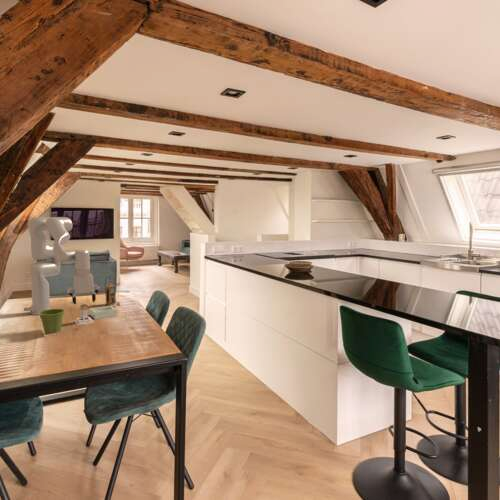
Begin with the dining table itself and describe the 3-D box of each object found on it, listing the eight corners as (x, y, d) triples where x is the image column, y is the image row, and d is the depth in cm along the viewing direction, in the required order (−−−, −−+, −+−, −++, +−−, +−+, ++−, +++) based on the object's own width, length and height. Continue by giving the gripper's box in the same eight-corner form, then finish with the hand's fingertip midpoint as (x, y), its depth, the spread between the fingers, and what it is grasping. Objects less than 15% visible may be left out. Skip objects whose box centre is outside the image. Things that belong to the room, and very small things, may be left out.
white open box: (95, 321, 208) (94, 312, 208) (90, 316, 218) (90, 308, 217) (116, 317, 215) (116, 309, 215) (111, 313, 225) (110, 305, 224)
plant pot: (41, 330, 189) (40, 309, 188) (66, 328, 194) (66, 308, 193) (37, 337, 178) (36, 315, 177) (64, 335, 182) (63, 313, 182)
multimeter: (116, 307, 240) (115, 277, 238) (103, 306, 242) (102, 277, 240) (128, 302, 254) (127, 274, 252) (115, 302, 256) (114, 274, 254)
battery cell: (81, 322, 201) (80, 305, 200) (80, 321, 204) (79, 303, 203) (88, 321, 203) (88, 304, 202) (87, 320, 206) (86, 303, 205)
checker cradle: (77, 326, 197) (77, 322, 197) (74, 322, 204) (74, 318, 204) (94, 323, 202) (94, 319, 202) (91, 320, 210) (91, 316, 210)
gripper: (66, 274, 193) (68, 306, 194) (101, 271, 203) (102, 301, 204) (64, 273, 199) (66, 303, 200) (97, 270, 209) (99, 299, 210)
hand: (84, 302), depth 202 cm, fingers open, 9 cm apart
